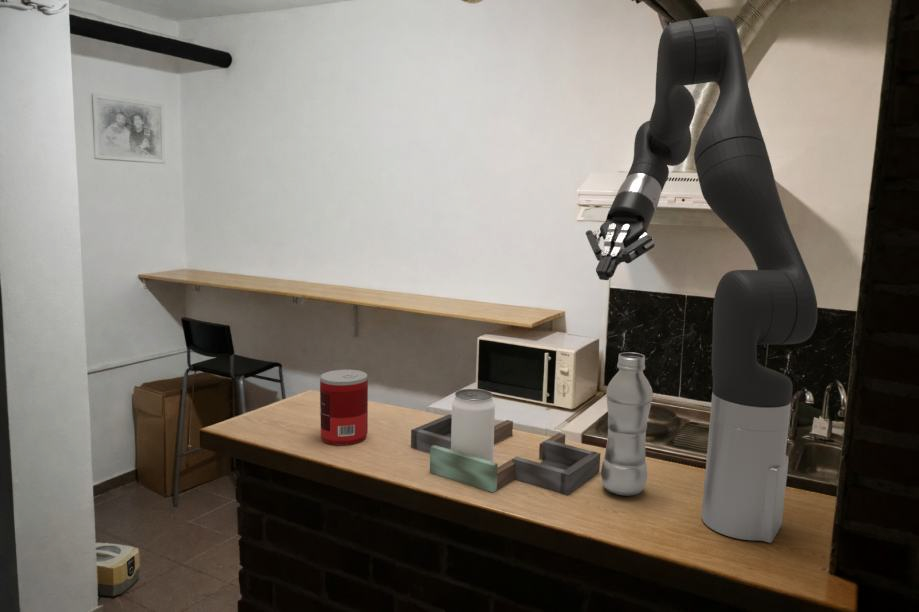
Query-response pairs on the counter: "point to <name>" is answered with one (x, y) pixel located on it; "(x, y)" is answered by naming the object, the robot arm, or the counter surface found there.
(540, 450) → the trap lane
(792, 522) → the counter surface
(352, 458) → the counter surface
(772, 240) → the robot arm
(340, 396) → the canned food
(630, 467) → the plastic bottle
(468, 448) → the can
